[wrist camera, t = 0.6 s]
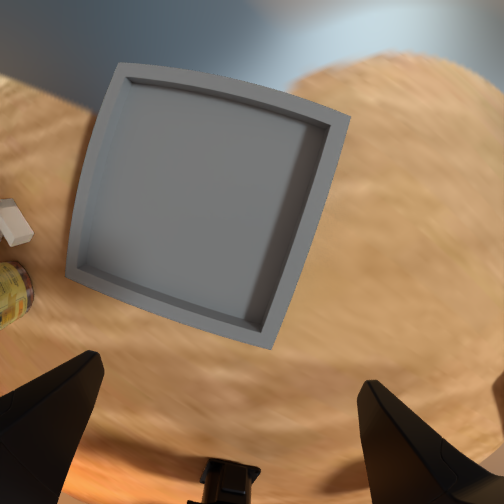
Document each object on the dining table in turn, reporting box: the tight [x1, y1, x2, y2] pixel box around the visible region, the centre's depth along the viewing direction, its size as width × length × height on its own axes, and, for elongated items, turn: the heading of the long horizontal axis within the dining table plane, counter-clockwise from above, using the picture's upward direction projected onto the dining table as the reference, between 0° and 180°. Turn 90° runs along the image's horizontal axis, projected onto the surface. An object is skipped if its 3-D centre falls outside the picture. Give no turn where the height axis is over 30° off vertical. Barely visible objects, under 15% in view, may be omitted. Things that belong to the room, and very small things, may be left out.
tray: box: [65, 63, 351, 350], centre depth 20 cm, size 18×18×2 cm
